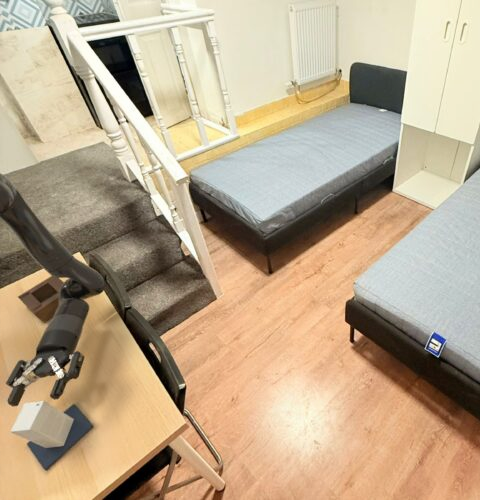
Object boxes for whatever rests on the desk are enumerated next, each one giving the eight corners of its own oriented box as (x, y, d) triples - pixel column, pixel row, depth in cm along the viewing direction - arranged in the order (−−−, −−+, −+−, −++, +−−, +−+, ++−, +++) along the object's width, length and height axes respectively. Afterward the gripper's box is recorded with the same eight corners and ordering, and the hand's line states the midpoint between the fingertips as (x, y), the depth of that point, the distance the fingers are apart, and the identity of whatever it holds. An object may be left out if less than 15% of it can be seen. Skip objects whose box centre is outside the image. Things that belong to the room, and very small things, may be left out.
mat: (46, 470, 74) (44, 469, 74) (28, 444, 78) (26, 443, 78) (93, 426, 80) (92, 425, 80) (75, 404, 84) (73, 403, 84)
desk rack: (43, 322, 102) (33, 313, 99) (27, 306, 107) (17, 296, 104) (79, 298, 109) (71, 288, 105) (63, 283, 114) (54, 274, 110)
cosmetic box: (56, 421, 81) (24, 401, 72) (75, 419, 81) (44, 399, 73) (44, 449, 77) (8, 432, 68) (63, 447, 77) (30, 429, 68)
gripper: (21, 333, 81) (-15, 400, 69) (83, 323, 82) (57, 388, 71) (41, 348, 86) (10, 414, 75) (98, 339, 87) (77, 402, 76)
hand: (33, 401), depth 73 cm, fingers open, 8 cm apart
